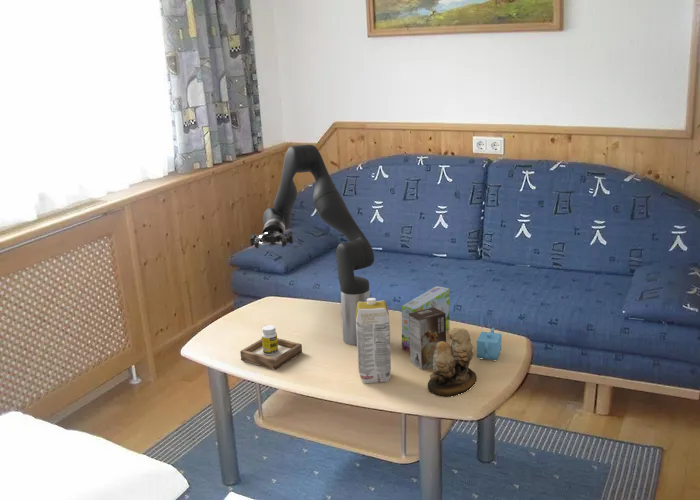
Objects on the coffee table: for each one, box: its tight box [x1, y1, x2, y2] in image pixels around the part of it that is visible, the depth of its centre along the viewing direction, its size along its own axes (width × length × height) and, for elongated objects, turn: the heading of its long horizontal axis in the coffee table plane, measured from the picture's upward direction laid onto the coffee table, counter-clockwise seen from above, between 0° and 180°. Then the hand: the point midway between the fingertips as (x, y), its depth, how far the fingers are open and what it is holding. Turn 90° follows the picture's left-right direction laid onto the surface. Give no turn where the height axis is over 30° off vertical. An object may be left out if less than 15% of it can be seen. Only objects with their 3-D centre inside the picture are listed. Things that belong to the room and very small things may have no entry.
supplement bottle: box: [261, 324, 278, 355], centre depth 225 cm, size 5×5×8 cm
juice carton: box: [356, 297, 392, 384], centre depth 206 cm, size 9×8×24 cm
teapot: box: [476, 327, 502, 361], centre depth 219 cm, size 12×6×8 cm, turn 159°
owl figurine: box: [427, 327, 478, 398], centre depth 202 cm, size 18×12×17 cm, turn 142°
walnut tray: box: [239, 337, 303, 370], centre depth 226 cm, size 14×13×3 cm
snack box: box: [401, 285, 451, 353], centre depth 230 cm, size 21×6×15 cm, turn 143°
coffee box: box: [409, 307, 447, 370], centre depth 215 cm, size 9×6×16 cm
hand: (270, 244), depth 238 cm, fingers open, 8 cm apart
